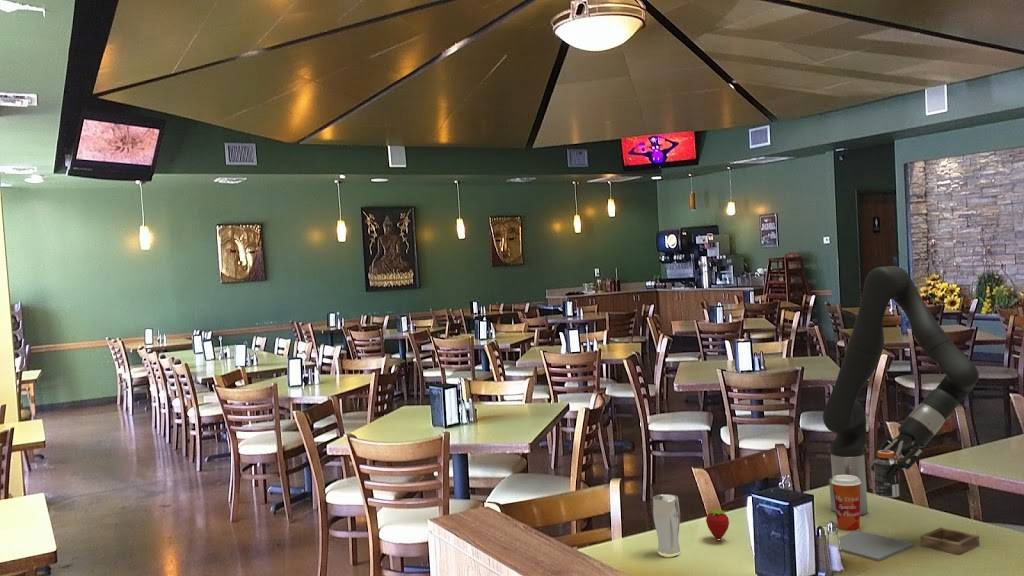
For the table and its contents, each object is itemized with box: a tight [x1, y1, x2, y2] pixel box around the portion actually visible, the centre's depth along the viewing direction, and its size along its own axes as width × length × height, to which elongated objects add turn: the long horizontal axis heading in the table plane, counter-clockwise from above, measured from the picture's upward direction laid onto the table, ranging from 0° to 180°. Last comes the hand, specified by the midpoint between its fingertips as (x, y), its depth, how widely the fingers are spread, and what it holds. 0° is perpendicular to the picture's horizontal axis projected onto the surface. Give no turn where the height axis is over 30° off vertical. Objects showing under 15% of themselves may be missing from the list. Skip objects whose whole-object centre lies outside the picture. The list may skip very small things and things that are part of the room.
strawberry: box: [705, 503, 730, 540], centre depth 224 cm, size 6×8×10 cm
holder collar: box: [920, 527, 980, 556], centre depth 209 cm, size 10×10×2 cm
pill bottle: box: [873, 449, 901, 498], centre depth 211 cm, size 6×6×11 cm
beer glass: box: [652, 493, 681, 554], centre depth 216 cm, size 7×7×15 cm
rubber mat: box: [839, 529, 915, 562], centre depth 212 cm, size 16×16×1 cm
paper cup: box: [831, 475, 861, 531], centre depth 228 cm, size 8×8×14 cm
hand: (880, 474), depth 211 cm, fingers closed on pill bottle, 6 cm apart
